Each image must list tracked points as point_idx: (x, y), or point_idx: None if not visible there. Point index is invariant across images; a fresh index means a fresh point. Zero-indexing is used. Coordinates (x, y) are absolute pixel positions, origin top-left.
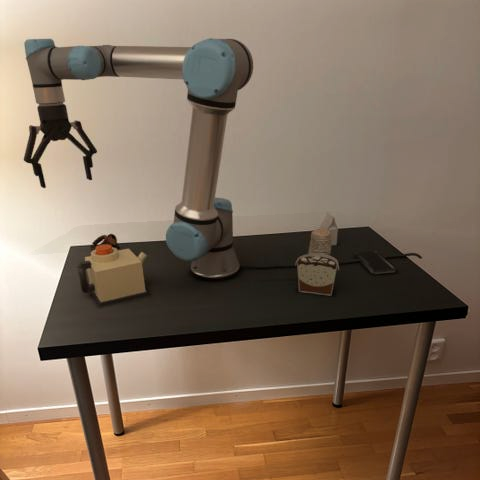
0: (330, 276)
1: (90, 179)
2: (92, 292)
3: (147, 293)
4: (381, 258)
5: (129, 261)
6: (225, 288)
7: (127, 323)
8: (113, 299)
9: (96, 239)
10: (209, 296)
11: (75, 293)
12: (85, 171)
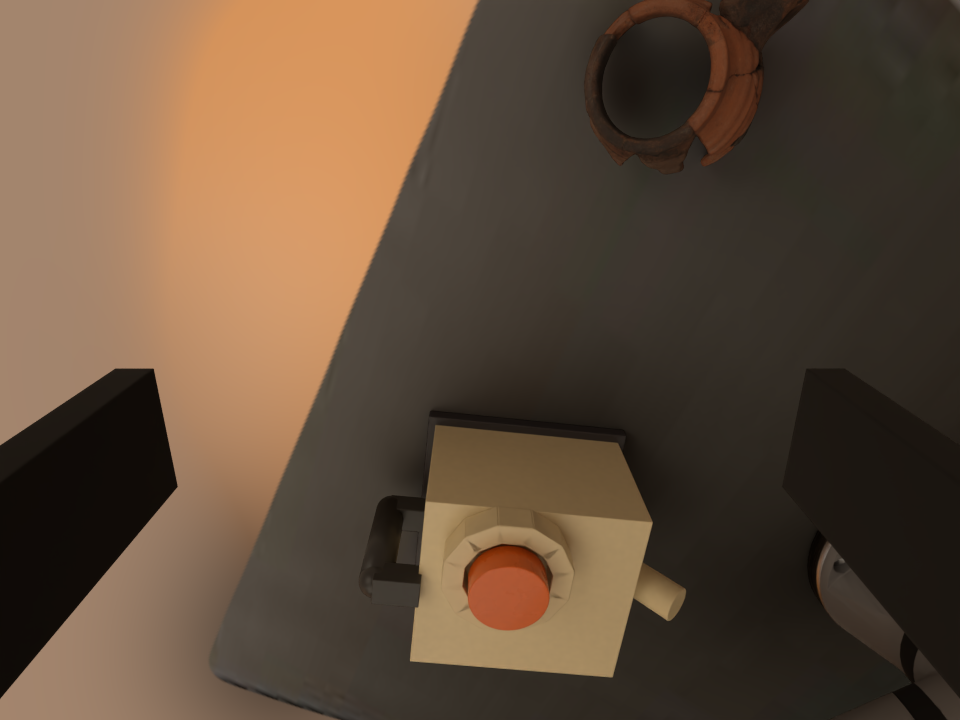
0: None
1: (796, 492)
2: (423, 480)
3: None
4: None
5: (574, 648)
6: (817, 665)
7: (448, 682)
8: None
9: (667, 12)
10: (739, 679)
11: (371, 417)
12: (870, 417)
